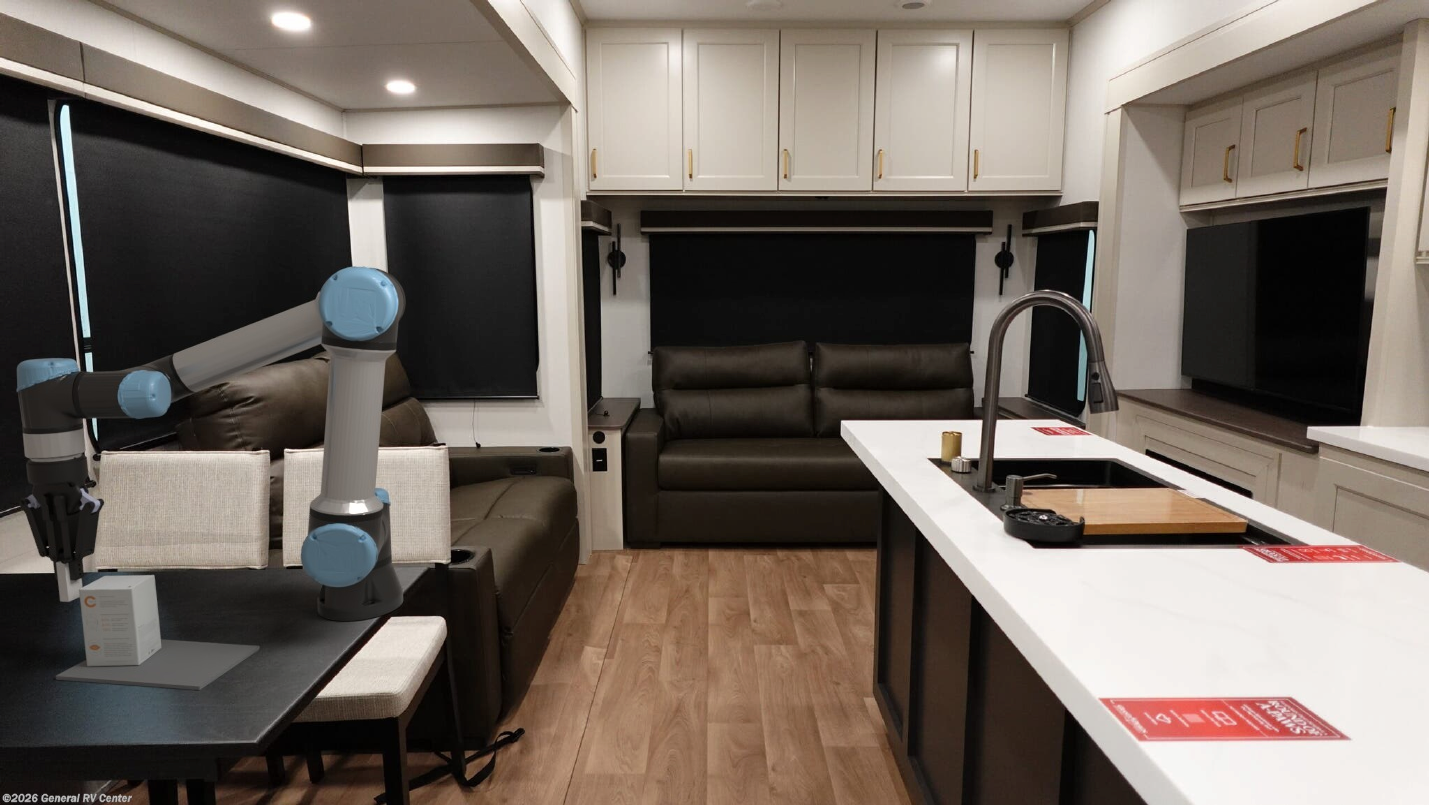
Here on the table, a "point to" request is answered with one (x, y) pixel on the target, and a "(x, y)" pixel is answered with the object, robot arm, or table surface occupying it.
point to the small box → (120, 620)
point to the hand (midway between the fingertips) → (71, 598)
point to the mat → (168, 666)
